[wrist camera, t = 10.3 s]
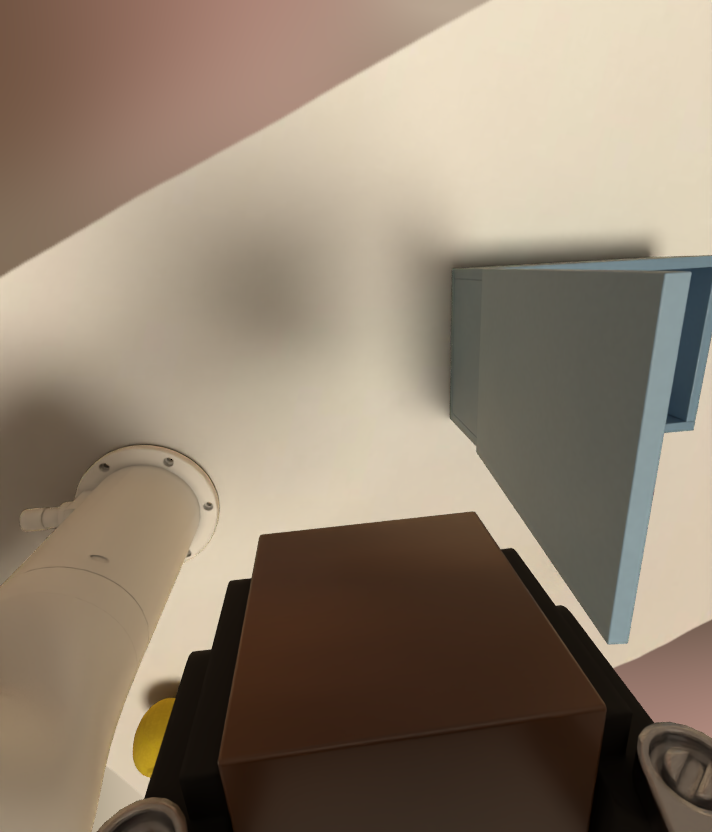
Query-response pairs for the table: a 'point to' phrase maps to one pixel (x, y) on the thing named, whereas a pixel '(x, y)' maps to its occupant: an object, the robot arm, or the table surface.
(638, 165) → the table surface
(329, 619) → the toy block
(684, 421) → the toy chest
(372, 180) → the table surface
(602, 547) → the chest lid
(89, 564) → the robot arm
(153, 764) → the lemon
